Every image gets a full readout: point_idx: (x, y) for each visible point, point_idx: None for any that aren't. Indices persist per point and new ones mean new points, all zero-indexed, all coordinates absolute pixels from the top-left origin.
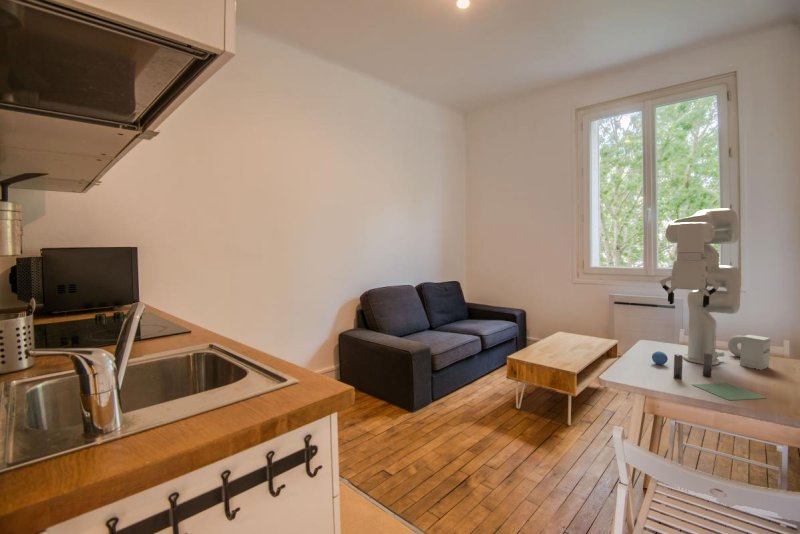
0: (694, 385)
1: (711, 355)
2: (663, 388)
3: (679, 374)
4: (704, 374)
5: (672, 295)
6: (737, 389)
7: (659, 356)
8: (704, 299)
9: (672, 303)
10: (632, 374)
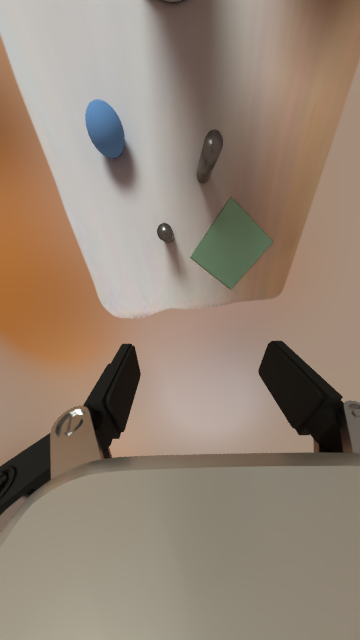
0: (193, 259)
1: (220, 150)
2: (167, 300)
3: (171, 240)
4: (200, 179)
5: (125, 416)
6: (243, 229)
7: (109, 148)
8: (286, 410)
9: (138, 367)
10: (118, 270)
